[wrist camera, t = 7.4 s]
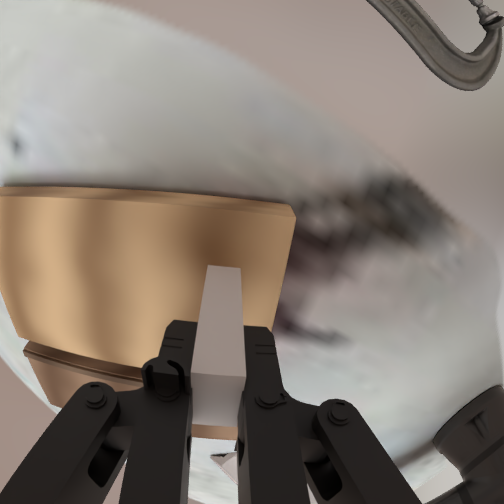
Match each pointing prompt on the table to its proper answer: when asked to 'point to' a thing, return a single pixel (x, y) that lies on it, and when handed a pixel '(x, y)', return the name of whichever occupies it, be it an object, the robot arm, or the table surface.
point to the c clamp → (446, 43)
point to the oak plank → (131, 264)
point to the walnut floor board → (91, 370)
